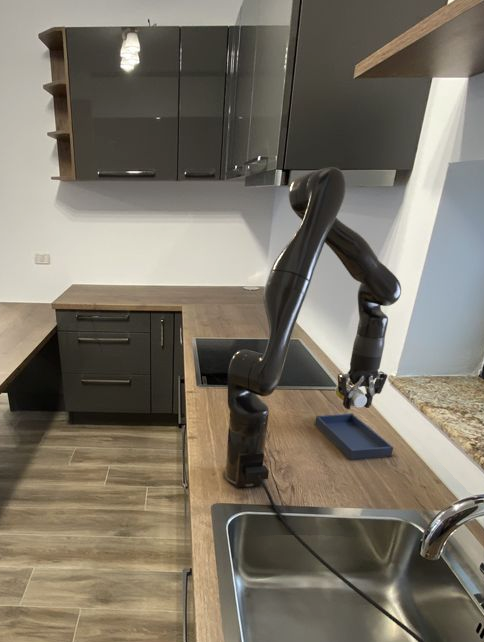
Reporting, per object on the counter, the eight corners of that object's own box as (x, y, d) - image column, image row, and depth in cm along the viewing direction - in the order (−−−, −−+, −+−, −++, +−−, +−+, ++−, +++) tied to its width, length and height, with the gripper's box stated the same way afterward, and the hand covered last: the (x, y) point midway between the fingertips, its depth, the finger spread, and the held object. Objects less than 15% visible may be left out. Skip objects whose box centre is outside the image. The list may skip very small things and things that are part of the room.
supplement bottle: (353, 391, 135) (371, 405, 126) (337, 399, 135) (354, 413, 126) (348, 377, 132) (367, 389, 124) (332, 385, 133) (349, 398, 124)
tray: (391, 456, 123) (393, 447, 121) (350, 459, 121) (352, 450, 120) (350, 421, 142) (352, 413, 141) (314, 424, 140) (316, 416, 139)
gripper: (350, 356, 116) (339, 414, 123) (400, 354, 118) (387, 411, 125) (335, 348, 123) (326, 403, 130) (383, 345, 125) (372, 400, 132)
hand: (356, 407), depth 127 cm, fingers closed on supplement bottle, 5 cm apart
